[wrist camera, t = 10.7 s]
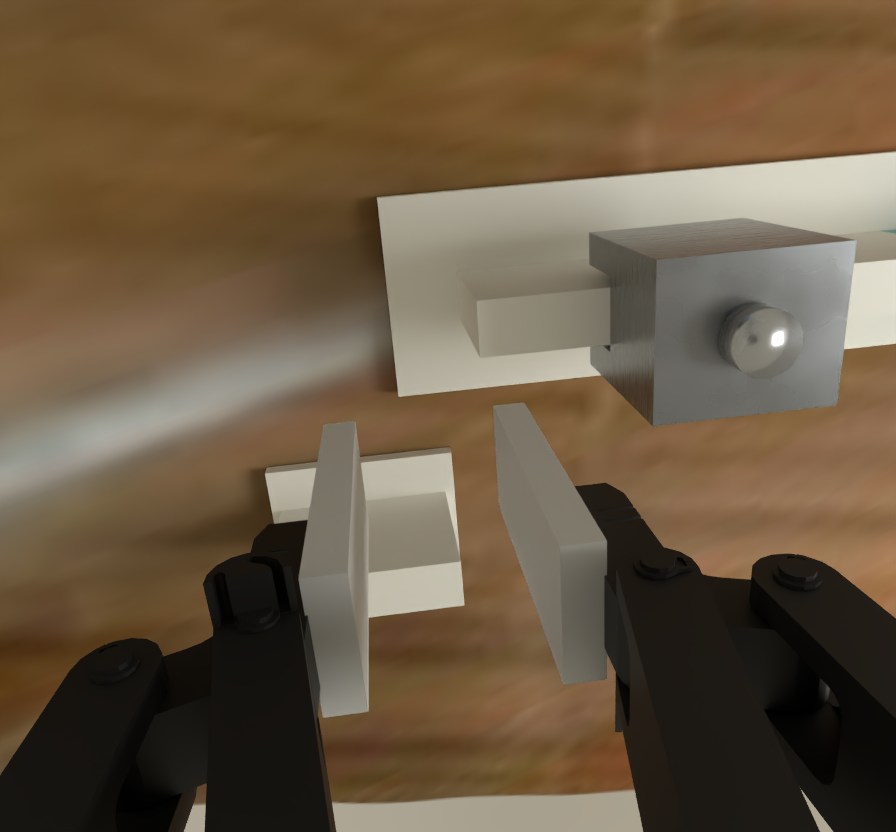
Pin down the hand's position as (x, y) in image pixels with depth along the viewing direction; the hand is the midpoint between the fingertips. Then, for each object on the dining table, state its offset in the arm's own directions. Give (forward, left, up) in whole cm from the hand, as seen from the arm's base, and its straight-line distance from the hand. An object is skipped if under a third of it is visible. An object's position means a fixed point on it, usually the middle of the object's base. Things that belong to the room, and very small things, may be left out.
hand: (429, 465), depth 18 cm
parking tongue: (+12, -3, -21) cm, 24 cm away
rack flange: (0, +17, -21) cm, 27 cm away
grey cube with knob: (0, +12, -16) cm, 20 cm away
